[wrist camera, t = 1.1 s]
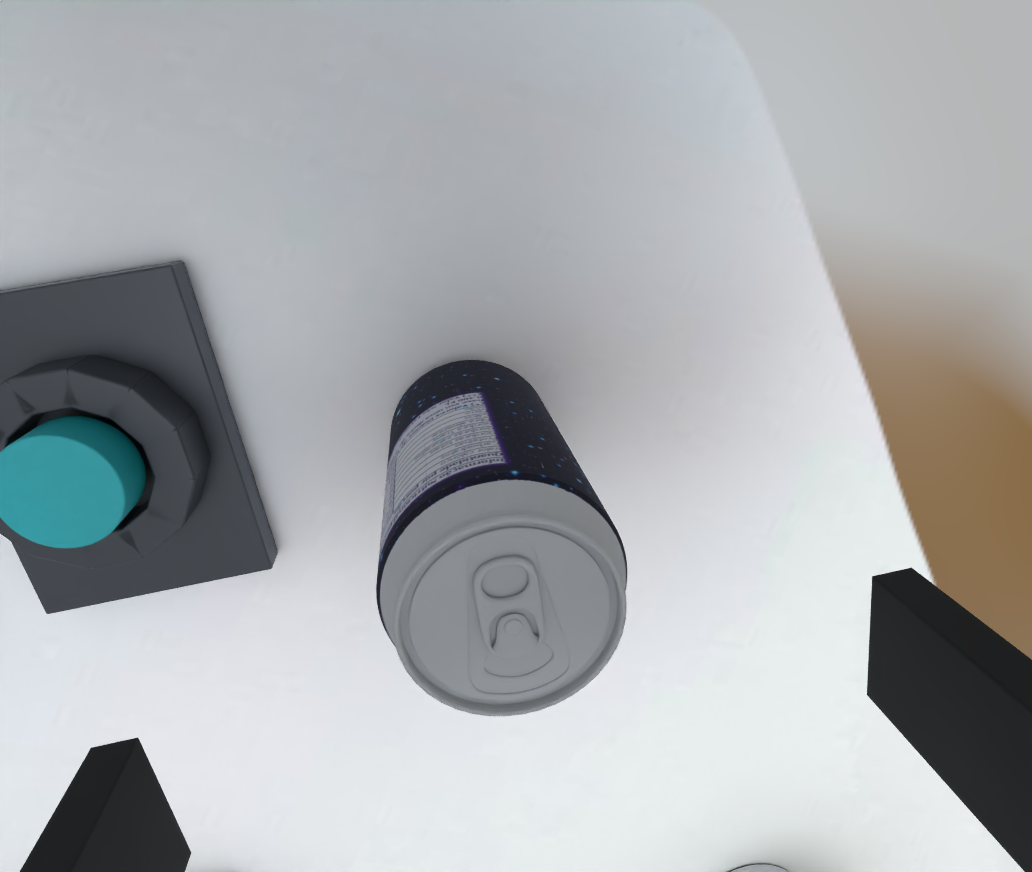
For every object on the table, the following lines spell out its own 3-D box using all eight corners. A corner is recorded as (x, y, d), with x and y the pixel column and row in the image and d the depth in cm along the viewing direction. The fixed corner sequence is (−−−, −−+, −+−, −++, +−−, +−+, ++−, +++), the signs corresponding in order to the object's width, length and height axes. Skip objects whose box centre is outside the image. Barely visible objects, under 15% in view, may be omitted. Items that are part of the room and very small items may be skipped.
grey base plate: (-76, 303, 21) (-150, 321, 18) (183, 260, 22) (149, 271, 19) (62, 596, 25) (18, 647, 22) (278, 552, 26) (262, 597, 23)
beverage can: (408, 510, 26) (404, 756, 15) (376, 368, 24) (343, 531, 13) (552, 482, 26) (653, 701, 15) (534, 341, 24) (634, 475, 13)
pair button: (-1, 427, 20) (-37, 449, 19) (122, 405, 21) (97, 424, 19) (48, 531, 22) (18, 560, 20) (163, 509, 22) (143, 535, 20)
